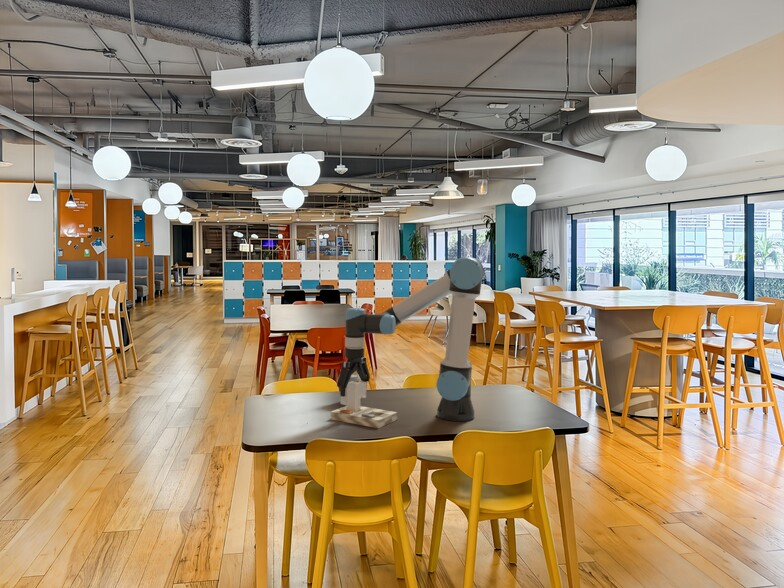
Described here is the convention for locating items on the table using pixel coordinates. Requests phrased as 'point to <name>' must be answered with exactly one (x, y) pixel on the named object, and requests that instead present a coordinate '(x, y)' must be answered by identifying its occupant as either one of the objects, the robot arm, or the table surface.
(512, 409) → the table surface
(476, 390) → the table surface
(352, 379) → the disposable coffee cup
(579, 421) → the table surface
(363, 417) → the socket plate
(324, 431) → the table surface
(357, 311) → the robot arm
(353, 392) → the plug
